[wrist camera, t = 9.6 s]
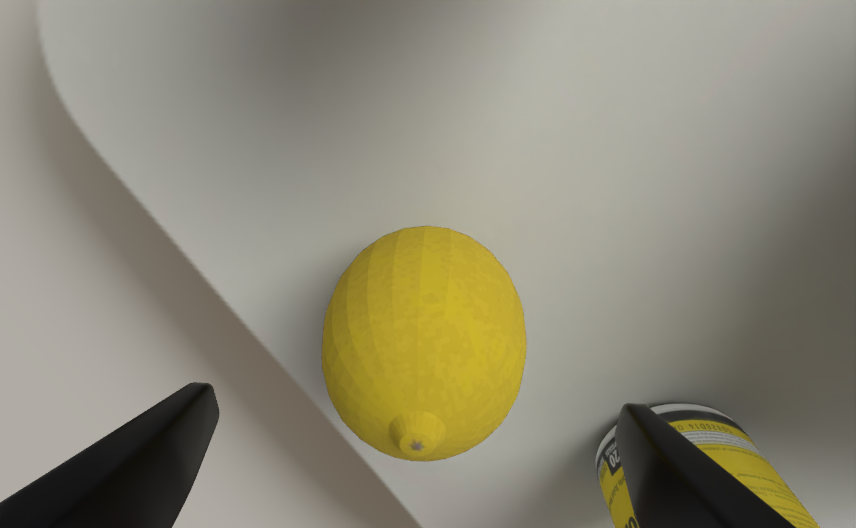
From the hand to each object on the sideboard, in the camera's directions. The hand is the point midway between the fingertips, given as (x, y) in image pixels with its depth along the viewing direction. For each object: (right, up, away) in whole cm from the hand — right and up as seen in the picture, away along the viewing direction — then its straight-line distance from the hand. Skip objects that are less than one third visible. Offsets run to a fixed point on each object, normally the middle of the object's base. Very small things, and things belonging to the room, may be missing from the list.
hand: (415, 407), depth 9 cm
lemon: (0, +3, +6) cm, 7 cm away
